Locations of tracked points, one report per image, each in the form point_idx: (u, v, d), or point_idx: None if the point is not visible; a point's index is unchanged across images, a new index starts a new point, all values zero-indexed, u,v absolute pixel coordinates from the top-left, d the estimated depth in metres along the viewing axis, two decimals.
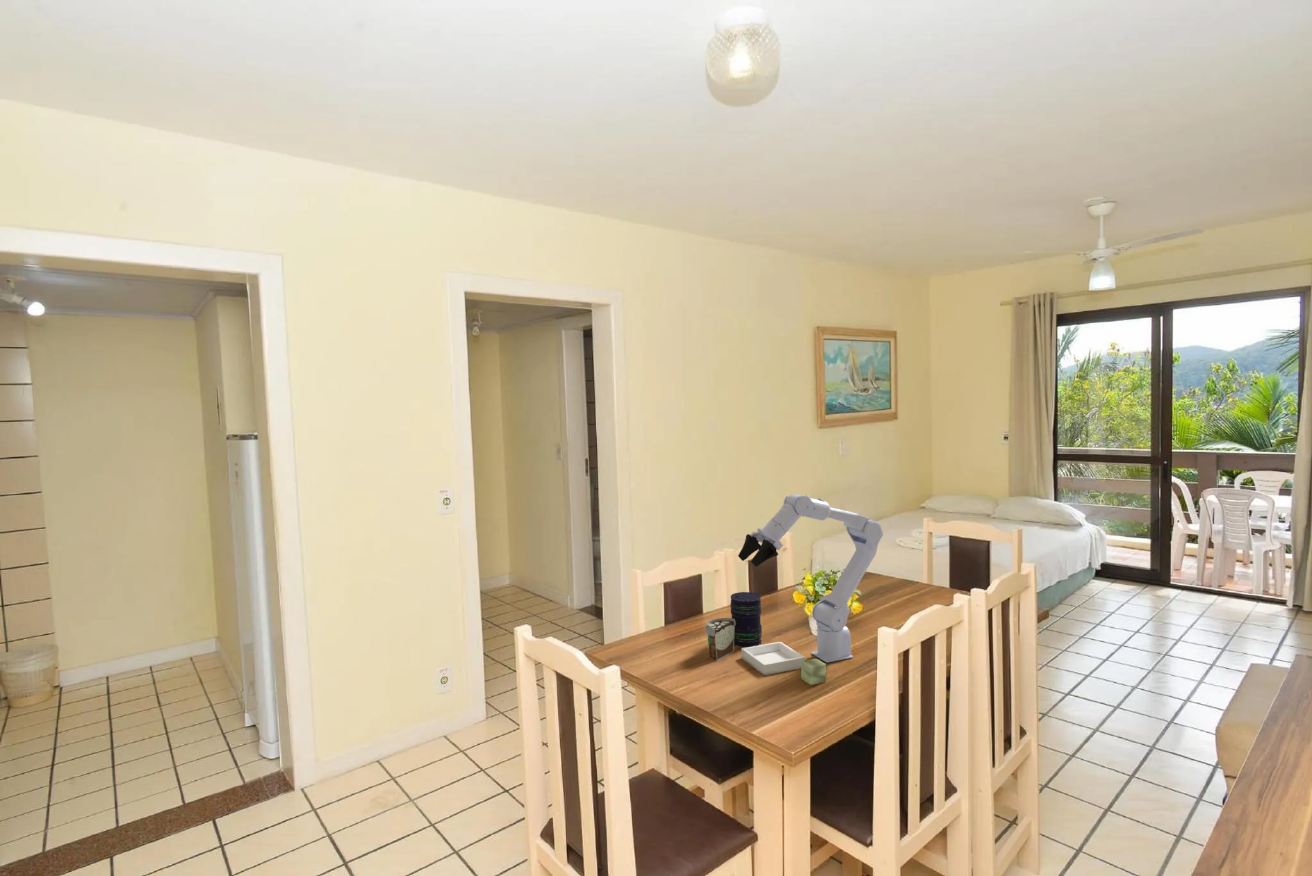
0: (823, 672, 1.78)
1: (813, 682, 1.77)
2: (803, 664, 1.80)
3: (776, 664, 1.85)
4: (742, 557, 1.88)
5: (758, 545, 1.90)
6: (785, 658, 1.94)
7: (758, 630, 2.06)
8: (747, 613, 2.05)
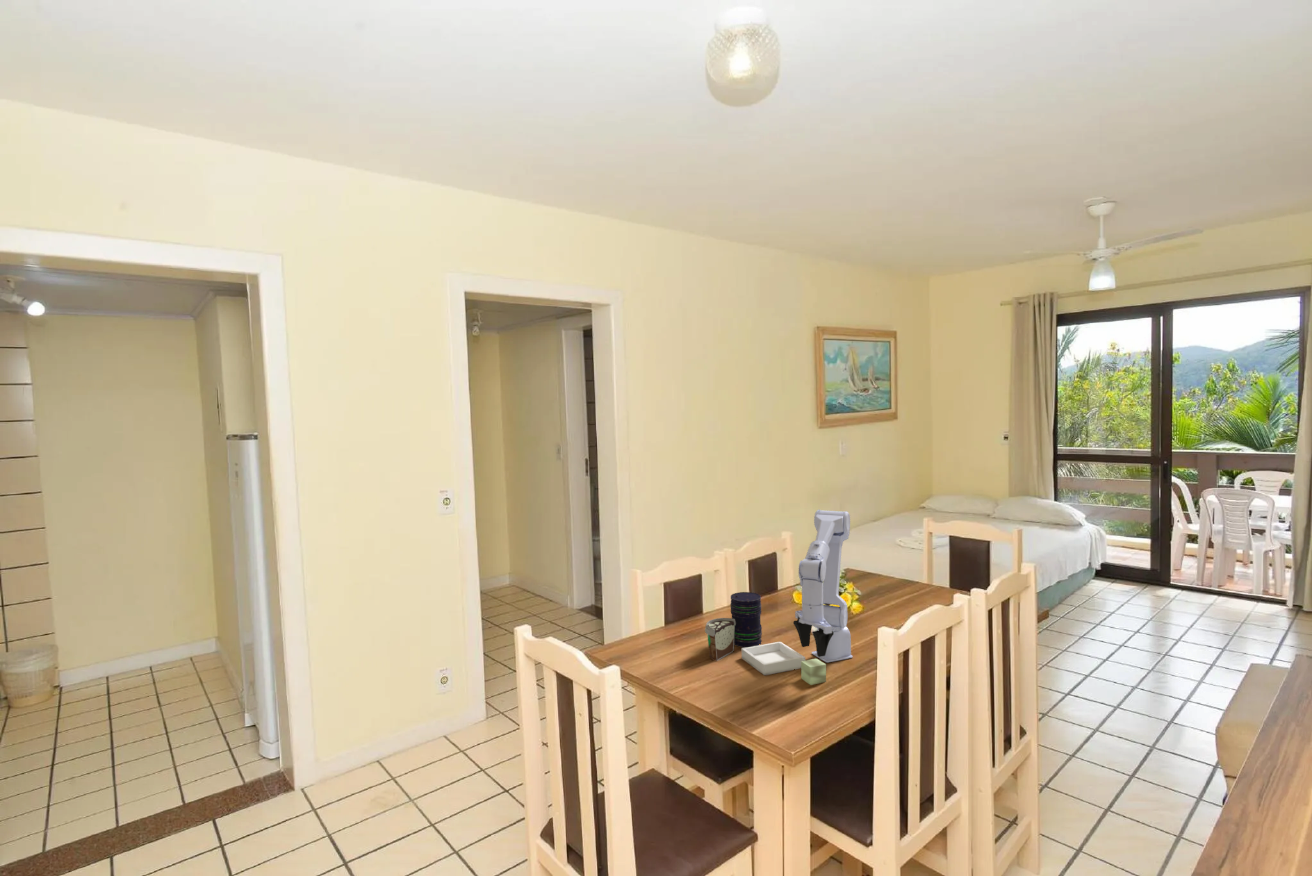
0: (823, 672, 1.78)
1: (813, 682, 1.77)
2: (803, 664, 1.80)
3: (776, 664, 1.85)
4: (806, 644, 1.83)
5: None
6: (785, 658, 1.94)
7: (758, 630, 2.06)
8: (747, 613, 2.05)
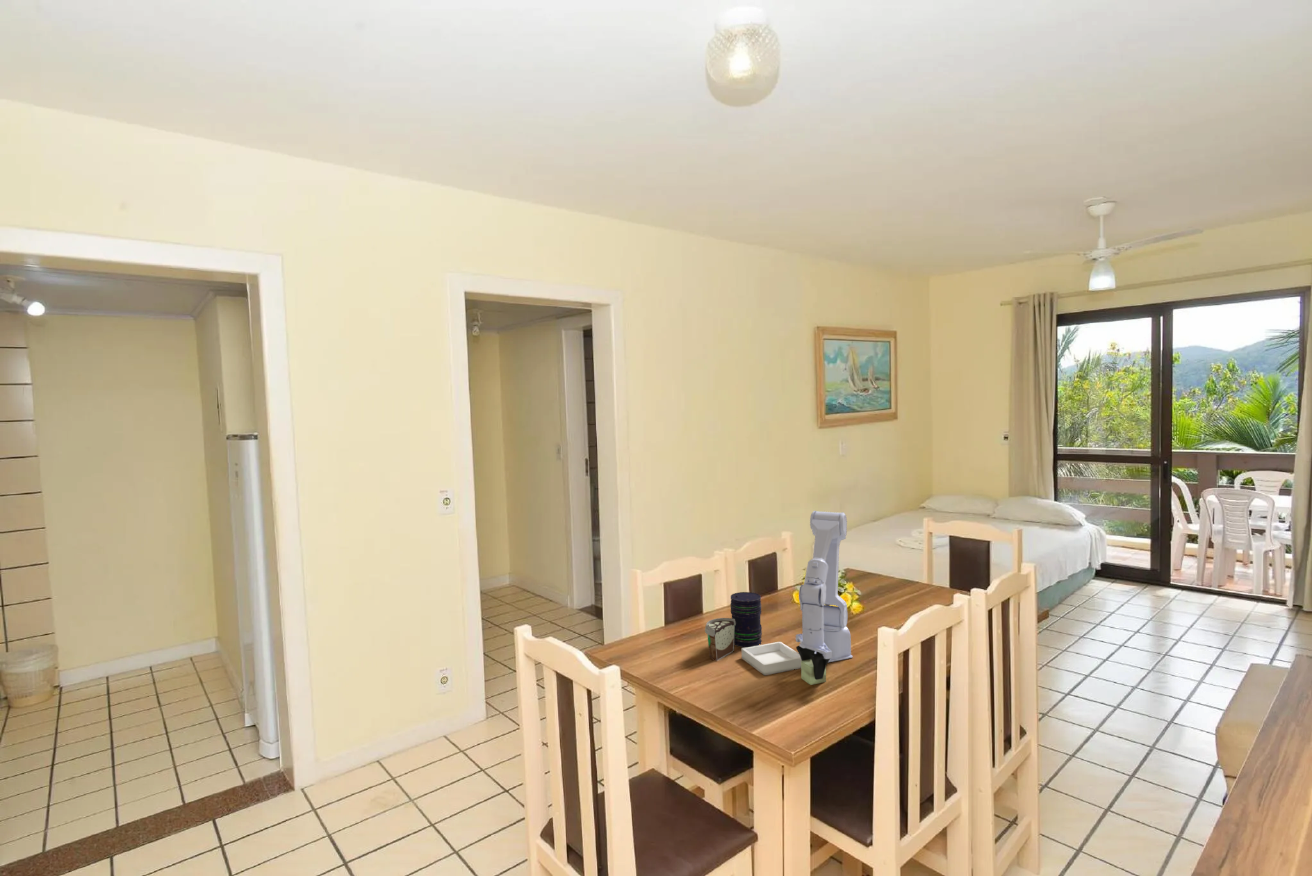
0: None
1: (813, 682, 1.77)
2: (803, 664, 1.80)
3: (776, 664, 1.85)
4: None
5: None
6: (785, 658, 1.94)
7: (758, 630, 2.06)
8: (747, 613, 2.05)
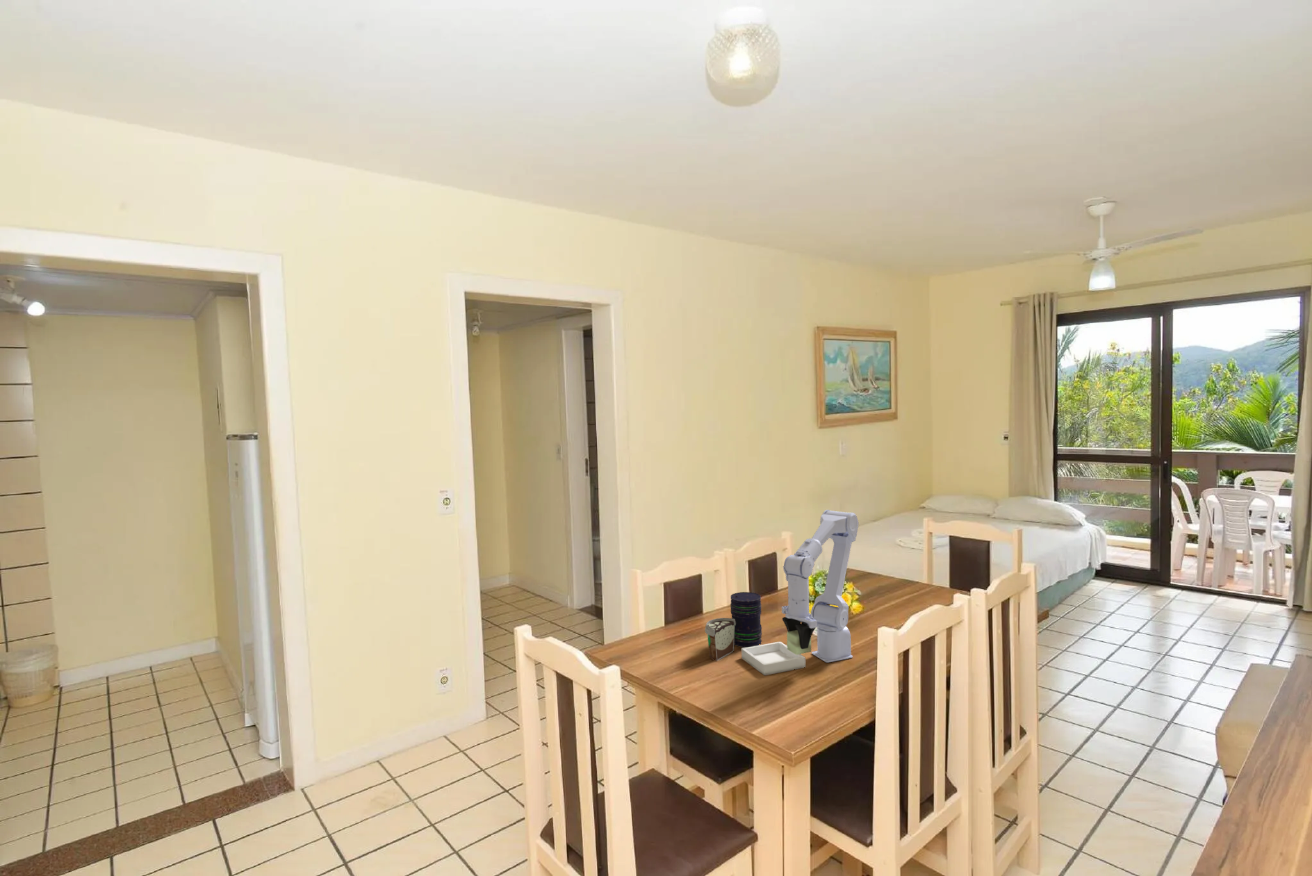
0: None
1: (798, 652, 1.81)
2: (789, 634, 1.84)
3: (776, 664, 1.85)
4: None
5: None
6: (785, 658, 1.94)
7: (758, 630, 2.06)
8: (747, 613, 2.05)
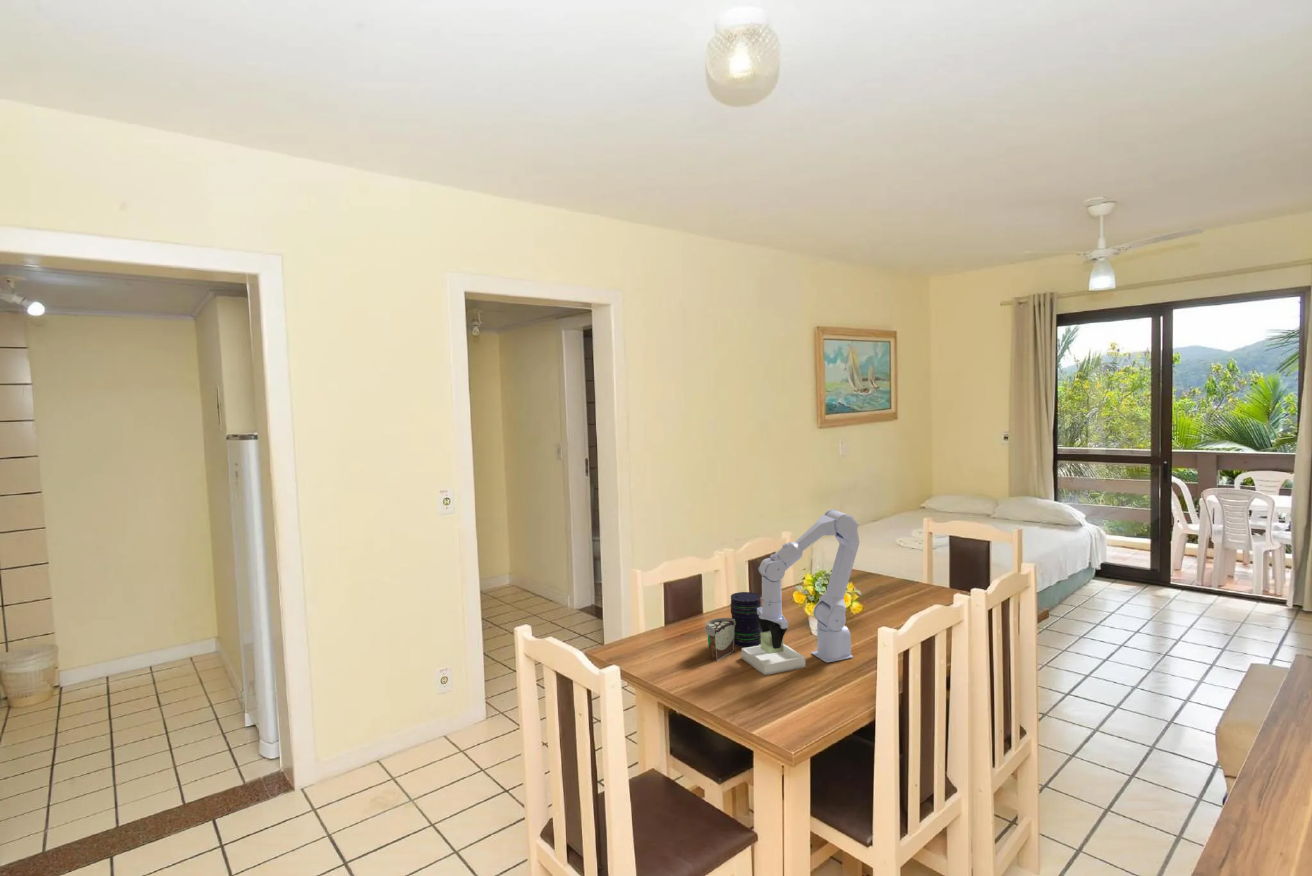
0: None
1: (771, 651, 1.90)
2: (762, 634, 1.92)
3: (776, 664, 1.85)
4: None
5: None
6: (785, 658, 1.94)
7: (758, 630, 2.06)
8: (747, 613, 2.05)
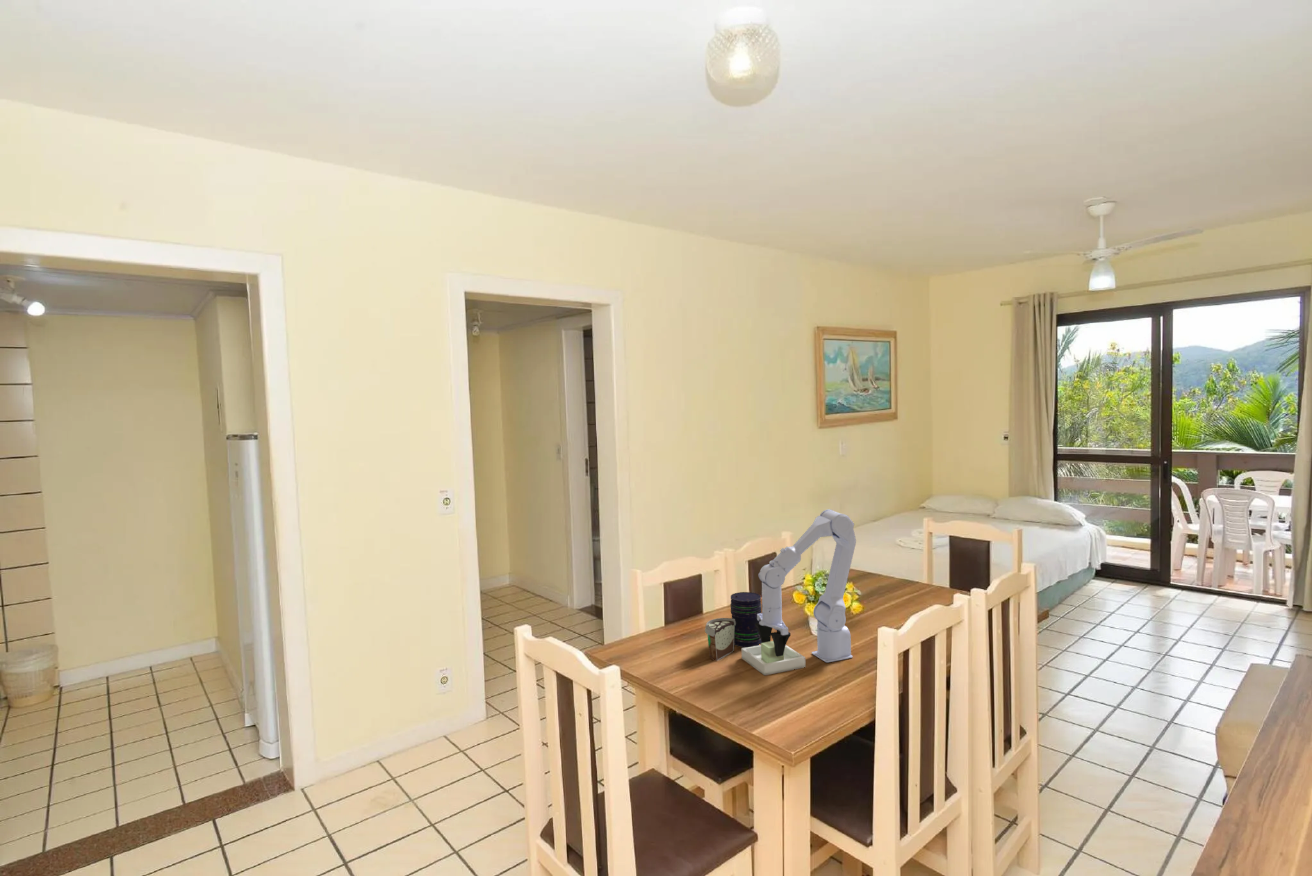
0: None
1: None
2: (763, 645, 1.92)
3: (776, 664, 1.85)
4: None
5: None
6: (785, 658, 1.94)
7: None
8: (747, 613, 2.05)
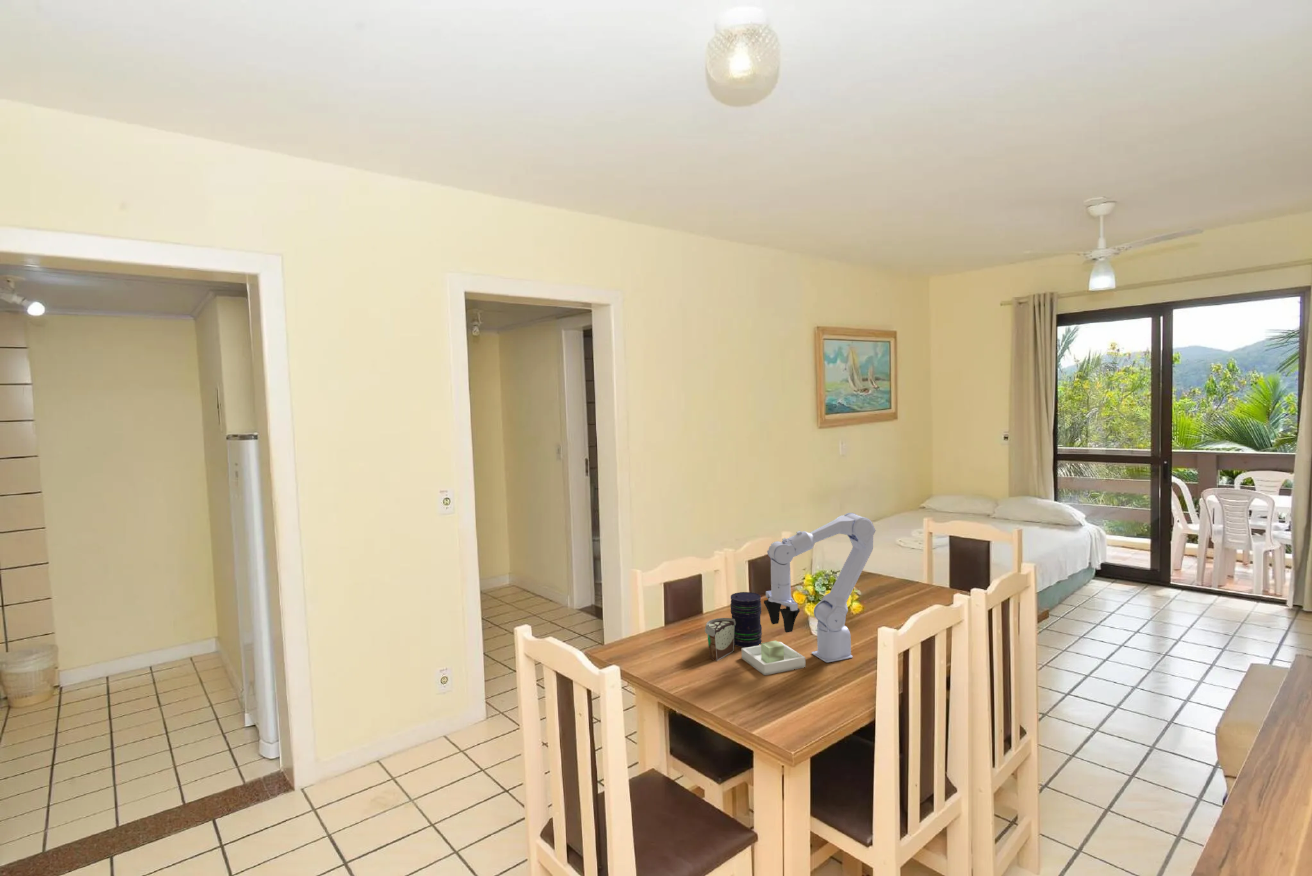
0: (781, 653, 1.91)
1: None
2: (763, 645, 1.92)
3: (776, 664, 1.85)
4: (775, 622, 1.96)
5: None
6: (785, 658, 1.94)
7: (758, 630, 2.06)
8: (747, 613, 2.05)
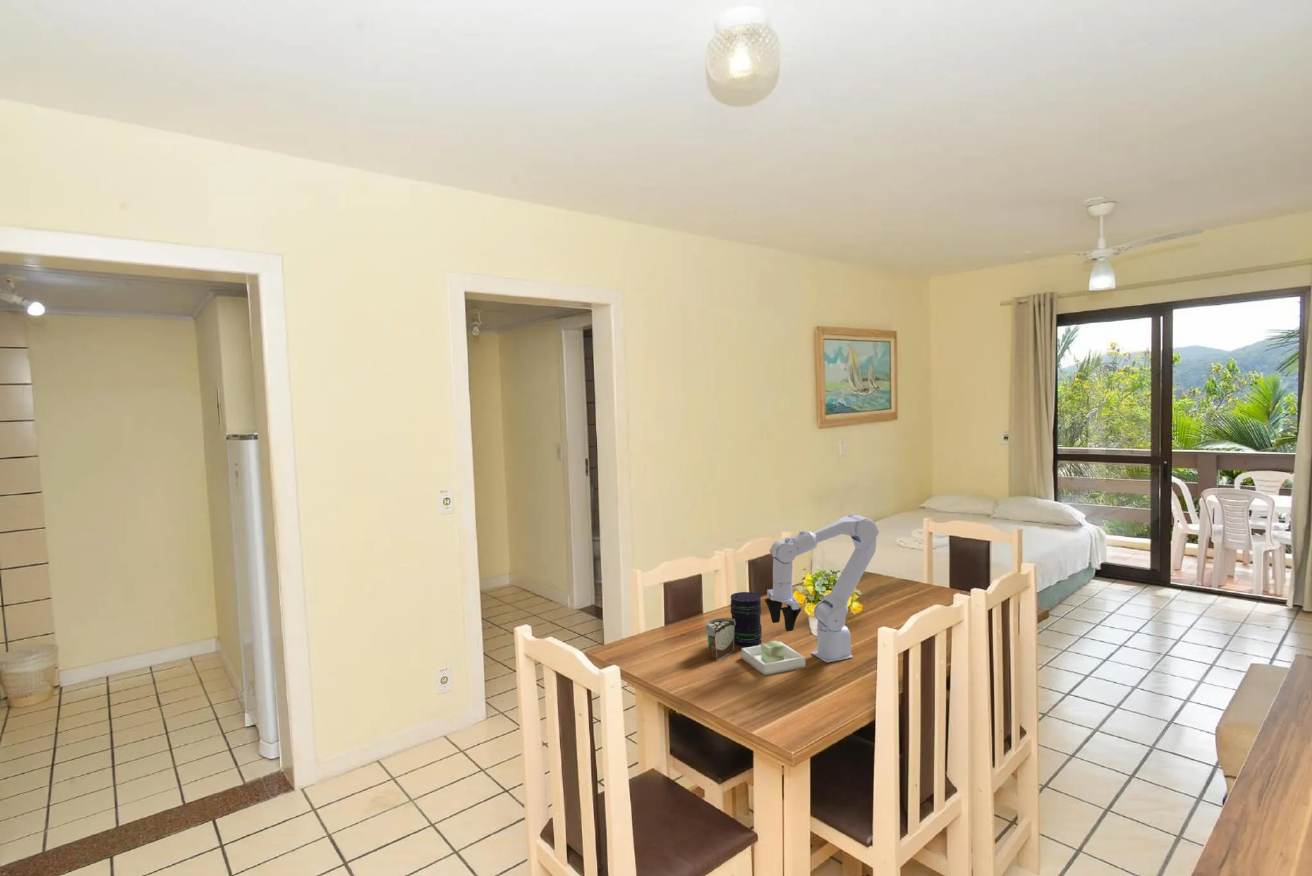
0: (781, 653, 1.91)
1: None
2: (763, 645, 1.92)
3: (776, 664, 1.85)
4: (776, 620, 1.97)
5: None
6: (785, 658, 1.94)
7: (758, 630, 2.06)
8: (747, 613, 2.05)
